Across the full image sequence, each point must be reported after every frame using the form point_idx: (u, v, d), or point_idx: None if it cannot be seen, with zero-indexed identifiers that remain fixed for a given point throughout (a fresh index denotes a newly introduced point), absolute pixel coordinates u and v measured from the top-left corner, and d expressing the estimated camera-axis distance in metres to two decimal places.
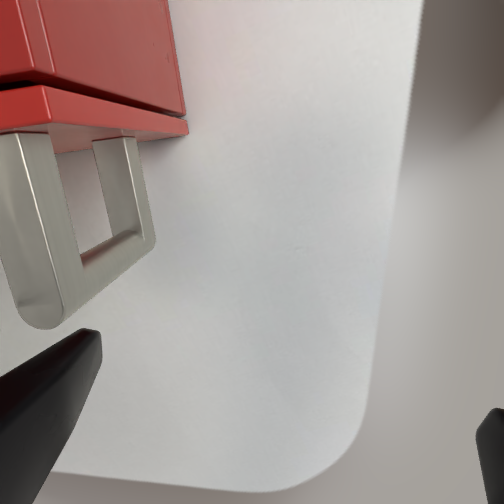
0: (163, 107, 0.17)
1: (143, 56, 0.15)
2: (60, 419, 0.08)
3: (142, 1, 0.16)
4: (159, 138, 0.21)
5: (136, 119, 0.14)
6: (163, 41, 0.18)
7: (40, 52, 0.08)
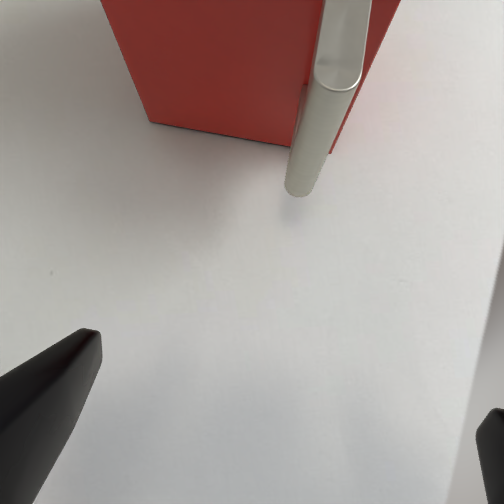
0: None
1: None
2: (60, 419, 0.08)
3: None
4: None
5: None
6: None
7: None
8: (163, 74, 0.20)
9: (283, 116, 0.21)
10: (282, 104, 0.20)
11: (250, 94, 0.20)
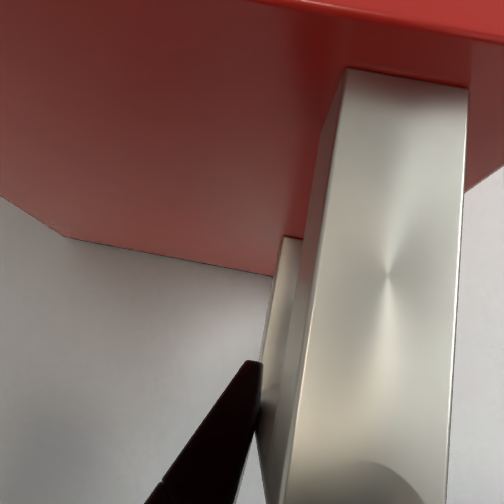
0: None
1: None
2: (247, 456, 0.08)
3: None
4: None
5: None
6: None
7: None
8: (53, 203, 0.12)
9: (256, 255, 0.14)
10: (252, 247, 0.13)
11: (198, 234, 0.12)
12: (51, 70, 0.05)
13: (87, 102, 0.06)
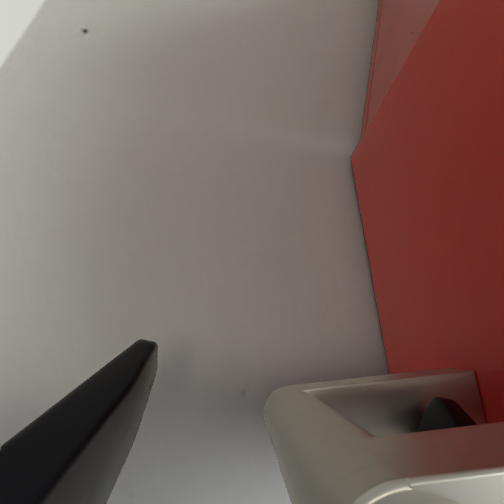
0: None
1: None
2: (126, 432, 0.08)
3: None
4: None
5: None
6: None
7: None
8: (401, 138, 0.12)
9: (418, 345, 0.13)
10: (432, 339, 0.12)
11: (425, 280, 0.12)
12: None
13: None
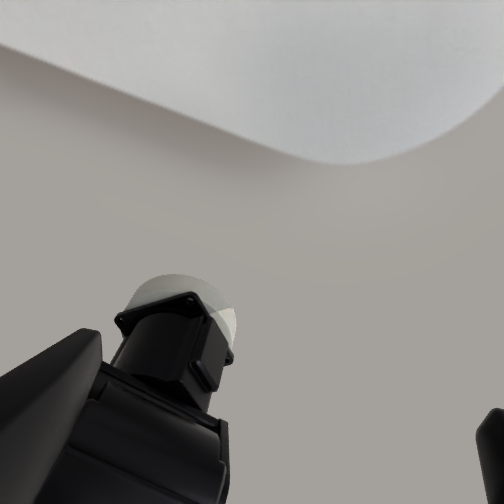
0: None
1: None
2: (60, 419, 0.08)
3: None
4: None
5: None
6: None
7: None
8: None
9: None
10: None
11: None
12: None
13: None
